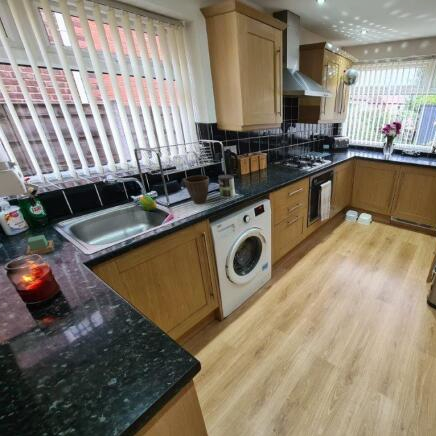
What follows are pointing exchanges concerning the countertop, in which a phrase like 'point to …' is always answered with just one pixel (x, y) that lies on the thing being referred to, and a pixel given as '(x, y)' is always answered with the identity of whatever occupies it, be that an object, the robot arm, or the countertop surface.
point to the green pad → (38, 242)
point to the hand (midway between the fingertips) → (17, 208)
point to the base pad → (41, 251)
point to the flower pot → (197, 188)
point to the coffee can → (226, 186)
